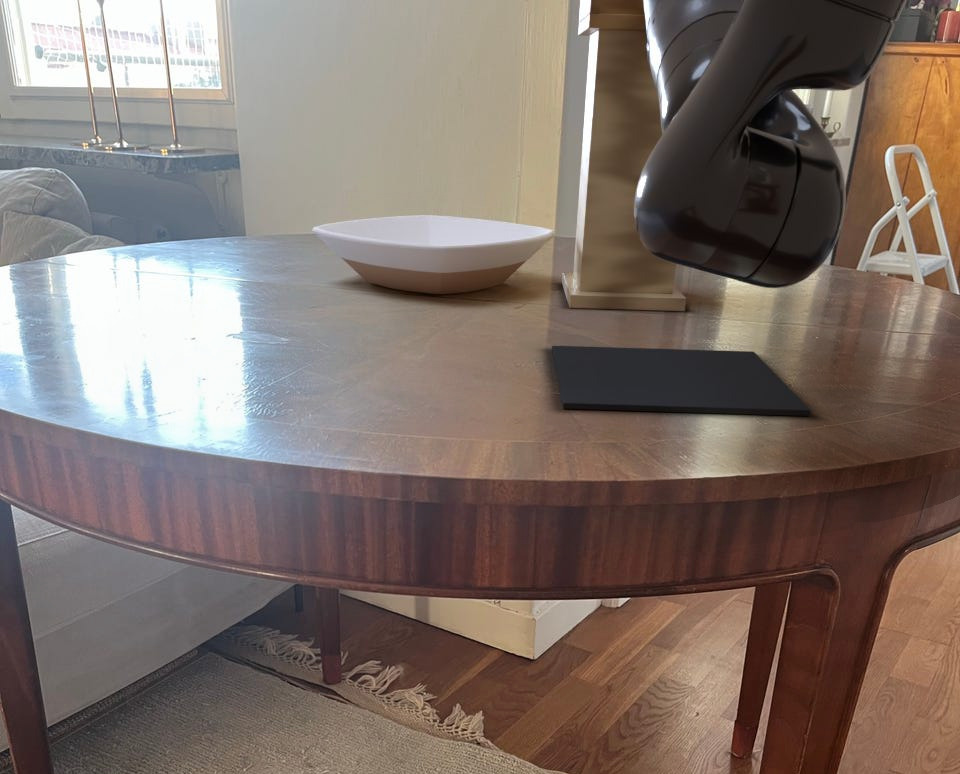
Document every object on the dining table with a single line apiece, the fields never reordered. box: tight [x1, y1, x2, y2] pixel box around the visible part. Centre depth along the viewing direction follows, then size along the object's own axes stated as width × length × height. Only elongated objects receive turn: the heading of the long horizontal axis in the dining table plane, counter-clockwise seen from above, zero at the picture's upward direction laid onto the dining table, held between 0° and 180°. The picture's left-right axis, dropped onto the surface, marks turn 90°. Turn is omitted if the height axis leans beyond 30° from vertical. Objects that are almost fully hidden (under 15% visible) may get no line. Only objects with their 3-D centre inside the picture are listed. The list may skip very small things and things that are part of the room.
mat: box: [551, 345, 812, 417], centre depth 68 cm, size 16×16×1 cm
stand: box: [561, 0, 687, 312], centre depth 90 cm, size 11×13×26 cm
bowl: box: [312, 214, 556, 295], centre depth 99 cm, size 22×22×5 cm
